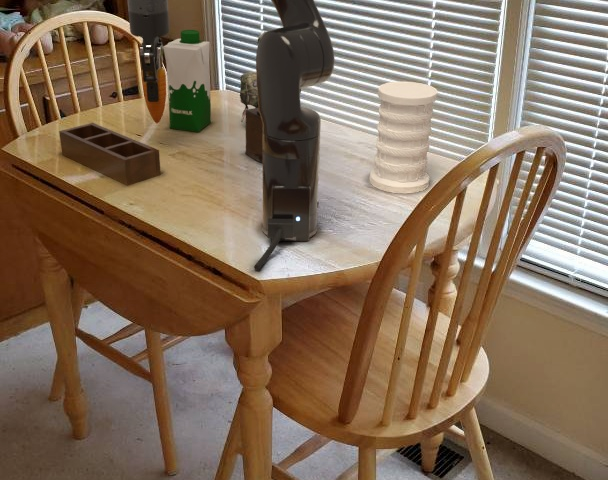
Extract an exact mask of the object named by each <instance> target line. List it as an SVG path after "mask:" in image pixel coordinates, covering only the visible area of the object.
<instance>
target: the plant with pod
mask: <svg viewBox="0 0 608 480" xmlns="http://www.w3.org/2000/svg"><path fill="white" fill-rule="evenodd" d="M266 32H267V31H264V32H262V33H261V34H260V35H259V36H258V37H257V44H258V43H259V41H260V38H261V37H262V35H263V34H264V33H266ZM239 98H240V103H242V104H243V105H244V106H245V107H244V110H243V112H242V115H241V120H240V122H242V123H243V121H244V119H245V118H246V110H248V109H249V106H251V107H253V108H258V93H257V75H256V72H252V71H247V72H245V73H243V74H241V75H240V90H239Z"/></svg>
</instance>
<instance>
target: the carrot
mask: <svg viewBox="0 0 608 480" xmlns="http://www.w3.org/2000/svg"><path fill="white" fill-rule="evenodd" d="M163 55H164V50H163V49H162V50H161V55H160V58H161V56H162V57H163ZM156 58H157V56H156ZM155 66H156V64H155ZM148 75H151V76H153V72H152V71H148ZM140 76H141V85H142V92H143V96H144V100H145V104H146V108H147V110H148V113H149V115H150V117H151V119H152V120H153V122H154V123H155V124H157V125H158V124H160V122H161V120H162V118H163V115H164V111H165V108H166V102H167V101H166V100H167V73H166V70H165V69H164V67H160V70H159V71H158V79H159V81H158V90H159V101H158V102H149V101H148V99H147V87H146V83H145V82H144V80H143V72H142V69H141V71H140Z"/></svg>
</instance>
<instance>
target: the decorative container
mask: <svg viewBox="0 0 608 480" xmlns="http://www.w3.org/2000/svg"><path fill="white" fill-rule="evenodd" d="M377 96H378V98H379V99H381V100H380V104H379V107H378V115H379V121H378V123H377V127H376V128H377V133H378V136H377V138H376V141H375V146H376V149H377V150H376V154H375V157H374V164H375V168H374V169H372V170H371V171H370V172H369V183H370V185H372V186H373V187H374V188H376V189H378V190H380V191H384V192H387V193H393V194H414V193H415V194H416V193H419V192H422V191H424V190H426V189H427V188H428V187H429V185H430V176H429V174H428V173H427V172H426V168H427V166H428V162H429V161H428V156H427V155H428V152H429V149H430V141H429V139H430V136H431V133H432V125H431V121H432V119H433V116H434V108H433V103H435V102H436V101H437V100H438V89H437V88H435V87H434V86H432V85H430V84H427V83H421V82H415V81H389V82H386V83H382V84H381V85H379V86H378V89H377Z"/></svg>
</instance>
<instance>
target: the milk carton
mask: <svg viewBox="0 0 608 480" xmlns="http://www.w3.org/2000/svg"><path fill="white" fill-rule="evenodd" d="M210 44H211V42H210V41H206V40H201V37H200V31H199V30H197V29H184V30H181V31H180V38H177V39H174V40H173V41H169V42H168V43H167V44H165V45H162V46H163V49H162V50H163V51H164V52H163V55H164V58H165V65H166V83H167V97H168V98H167V99H168V112H169V113H168V116H169V117H168V118H169V129H172V130H180V131H185V132H194V133H199V132H201V131H202V130H203V129H205V128H206V127H207V126H208V125H210V124H211V123H212V121H211V120H212V118H211V117H212V114H211V113H212V103H211V101H212V99H211V72H210V52H211V51H210V50H211V49H210V46H211V45H210Z"/></svg>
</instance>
